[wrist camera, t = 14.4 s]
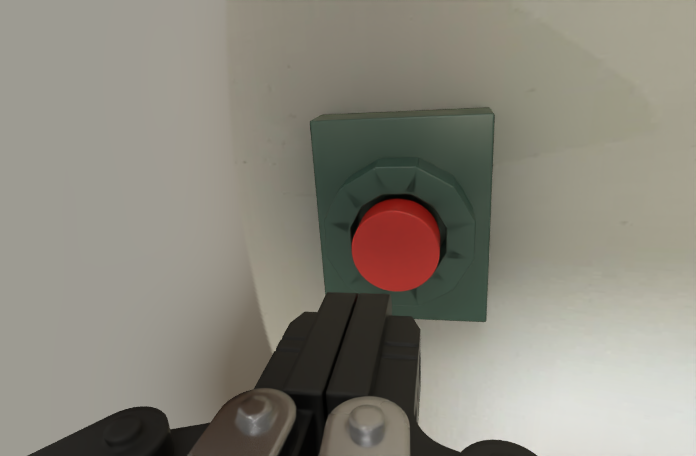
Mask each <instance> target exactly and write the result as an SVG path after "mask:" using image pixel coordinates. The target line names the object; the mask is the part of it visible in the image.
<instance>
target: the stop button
mask: <svg viewBox="0 0 696 456" xmlns="http://www.w3.org/2000/svg"><path fill="white" fill-rule="evenodd" d="M439 256H440V231H439V227H438V224H437V222H436V220H435V218H434V217H433V216H432V214H431V213H430V212H429V211H428V210H427V209H426V208H424V207H423V206H422V205H420V204H418V203H416V202H414V201H411V200H407V199H400V198H395V199H388V200H384V201H381V202H379V203H377V204H376V205H374V206H373V207H371V208H370V209H369V210H368V211H367V212H366V213H365V215H364V216H363V218H362V220H361V222H360V224H359V226H358V228H357V230H356V232H355V234H354V237H353V240H352V257H353V261H354V264H355V266H356V268H357V269H358V271H359V272H360V274H361V275H362V276H363V277H364V278H365V279H366V280H367V281H368V282H370V283H371V284H373V285H374V286H376V287H379V288H381V289H384V290H388V291H407V290H411V289H414V288H416V287H418V286H420V285H422V284H423V283H425V282H426V281H427V280H428V279H429V278H430V277H431V276H432V274H433V273H434V271H435V270H436V268H437V265H438V262H439Z"/></svg>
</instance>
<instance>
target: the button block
mask: <svg viewBox="0 0 696 456" xmlns="http://www.w3.org/2000/svg"><path fill="white" fill-rule="evenodd" d="M494 119H495V115H494V113H493V112H492V110H491V109H490V108H466V109H443V110H421V111H398V112H375V113H352V114H329V115H321V116H319V117H317V118H315V119H313V120H312V121H310V130H311V141H312V152H313V163H314V174H315V185H316V196H317V207H318V218H319V229H320V240H321V251H322V262H323V273H324V284H325V295H326V294H327V292H339V293H358V294H360V293H369V294H390V295H391V299H392V315H393V316H412V317H413V319H428V320H451V321H474V322H486V315H487V291H488V266H489V242H490V217H491V192H492V168H493V143H494ZM395 198H400V199H407V200H411V201H414V202H416V203H418V204H420V205H422V206H423V207H424V208H426V209H427V210H428V211H429V212H430V213H431V214H432V216H433V217H434V218H435V220H436V222H437V224H438V227H439V231H440V256H439V262H438V265H437V268H436V270H435V271H434V273H433V274H432V276H431V277H430V278H429V279H428V280H427V281H426V282H425V283H423V284H422V285H420V286H418V287H416V288H414V289H411V290H407V291H388V290H384V289H381V288H379V287H376V286H374V285H373V284H371V283H370V282H368V281H367V280H366V279H365V278H364V277H363V276H362V275H361V274H360V272H359V271H358V269H357V268H356V266H355V264H354V261H353V257H352V240H353V237H354V234H355V232H356V230H357V228H358V226H359V224H360V222H361V220H362V218H363V216H364V215H365V213H366V212H367V211H368V210H369V209H370V208H371V207H373V206H374V205H376V204H377V203H379V202H381V201H384V200H388V199H395Z"/></svg>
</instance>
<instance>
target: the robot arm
mask: <svg viewBox="0 0 696 456" xmlns="http://www.w3.org/2000/svg"><path fill="white" fill-rule="evenodd" d="M420 387H421V365H420V328H419V327H418V325H417V324H416V322H415V320H414V319H413V317H412V316H393V315H392V299H391V295H390V294H369V293H360V294H358V293H339V292H327V294H326V295H325V298H324V300H323V302H322V304H321V306H320V308H319V310H318V312H304V313H302V314H301V315H300V316H299V317H297V318H296V319H295V320H293V321H292V322H291V323H290V324H289V326H288V328H287V329H286V331H285V333H284V335H283V337H282V340H280V342H279V344H278V346H277V348H276V351H274V353H273V355H272V357H271V359H270V360H269V362H268V364H267V366H266V368H265V370H264V371H263V373H262V375H261V377H260V379H259V380H258V382H257V384H256V386H255V388H254V389H253V390H250V391H246V392H243V393H241V394H239V395H237V396H235V397H233V398H232V399H230V400H229V401H228V402H227V403H226V404H224V405H223V406H222V408H221V409H220V410H219V411H218V413H217V414H216V416H215V417H214V419H213V420H212V421H211V422H210V423H206V424H200V425H194V426H188V427H182V428H176V429H170V428H169V423H168V420H167V417H166V415H165V414H164V413H163V412H162V411H160V410H159V409H156V408H153V407H133V408H129V409H125V410H122V411H119V412H117V413H115V414H112V415H110V416H108V417H106V418H104V419H102V420H100V421H98V422H96V423H94V424H92V425H90V426H88V427H86V428H84V429H81V430H79V431H77V432H75V433H73V434H71V435H69V436H67V437H65V438H63V439H61V440H59V441H57V442H55V443H53V444H51V445H49V446H47V447H45V448H42V449H40V450H38V451H36V452H34V453H32V454H30V455H28V456H537V455H536V454H534V453H533V452H531V451H530V450H528V449H526V448H524V447H522V446H520V445H518V444H515V443H511V442H508V441H502V440H484V441H479V442H476V443H474V444H471V445H469V446H468V447H466V448H465V449H464V450H463V451H462V452H458V451H455V450H453V449H450V448H447V447H445V446H443V445H441V444H439V443H437V442H435V441H434V440H432V439H431V438H430V437H428V436H427V435H426V434H425V433H424V432H423V431H422V430H421V428H420V427H419V425H418V416H419V402H420Z"/></svg>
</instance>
